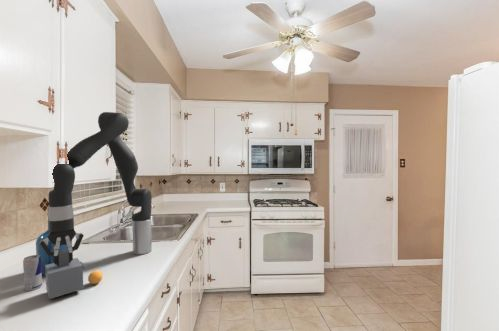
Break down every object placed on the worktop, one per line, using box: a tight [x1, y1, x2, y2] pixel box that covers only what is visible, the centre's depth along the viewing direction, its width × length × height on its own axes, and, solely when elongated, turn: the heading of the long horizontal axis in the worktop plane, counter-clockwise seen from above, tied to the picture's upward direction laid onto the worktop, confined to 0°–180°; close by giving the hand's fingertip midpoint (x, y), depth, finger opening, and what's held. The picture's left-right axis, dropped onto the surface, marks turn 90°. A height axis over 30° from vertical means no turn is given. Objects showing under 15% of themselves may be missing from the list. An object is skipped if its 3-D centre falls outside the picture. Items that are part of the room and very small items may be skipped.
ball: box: [87, 269, 103, 285], centre depth 106 cm, size 5×5×5 cm
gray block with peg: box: [45, 250, 84, 300], centre depth 99 cm, size 10×10×14 cm
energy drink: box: [22, 254, 43, 292], centre depth 103 cm, size 5×5×12 cm
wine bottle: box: [35, 206, 73, 276], centre depth 119 cm, size 14×13×30 cm
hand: (63, 263), depth 99 cm, fingers closed on gray block with peg, 3 cm apart
